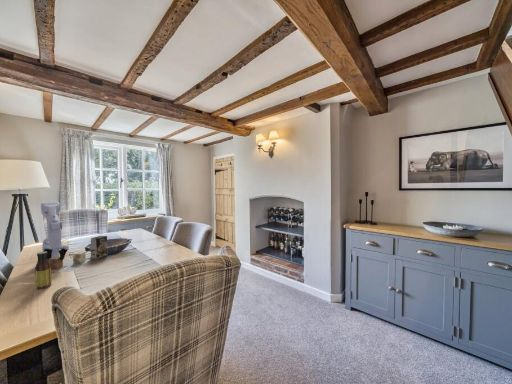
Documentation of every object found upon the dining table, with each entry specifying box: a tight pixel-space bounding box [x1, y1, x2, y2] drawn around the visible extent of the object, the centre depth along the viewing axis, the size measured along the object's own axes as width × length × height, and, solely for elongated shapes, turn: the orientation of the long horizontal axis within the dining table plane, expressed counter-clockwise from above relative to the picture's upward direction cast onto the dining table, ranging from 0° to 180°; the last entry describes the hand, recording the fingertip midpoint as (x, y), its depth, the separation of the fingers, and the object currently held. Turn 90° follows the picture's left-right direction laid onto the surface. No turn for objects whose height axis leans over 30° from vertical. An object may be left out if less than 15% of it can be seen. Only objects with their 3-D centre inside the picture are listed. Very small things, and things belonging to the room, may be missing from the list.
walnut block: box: [48, 256, 64, 270], centre depth 144 cm, size 5×5×7 cm
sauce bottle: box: [34, 251, 52, 290], centre depth 120 cm, size 6×6×20 cm
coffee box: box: [90, 235, 108, 260], centre depth 169 cm, size 9×6×16 cm
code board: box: [51, 259, 91, 273], centre depth 150 cm, size 17×22×1 cm
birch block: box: [72, 251, 86, 264], centre depth 156 cm, size 5×5×7 cm
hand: (55, 259), depth 144 cm, fingers open, 7 cm apart
